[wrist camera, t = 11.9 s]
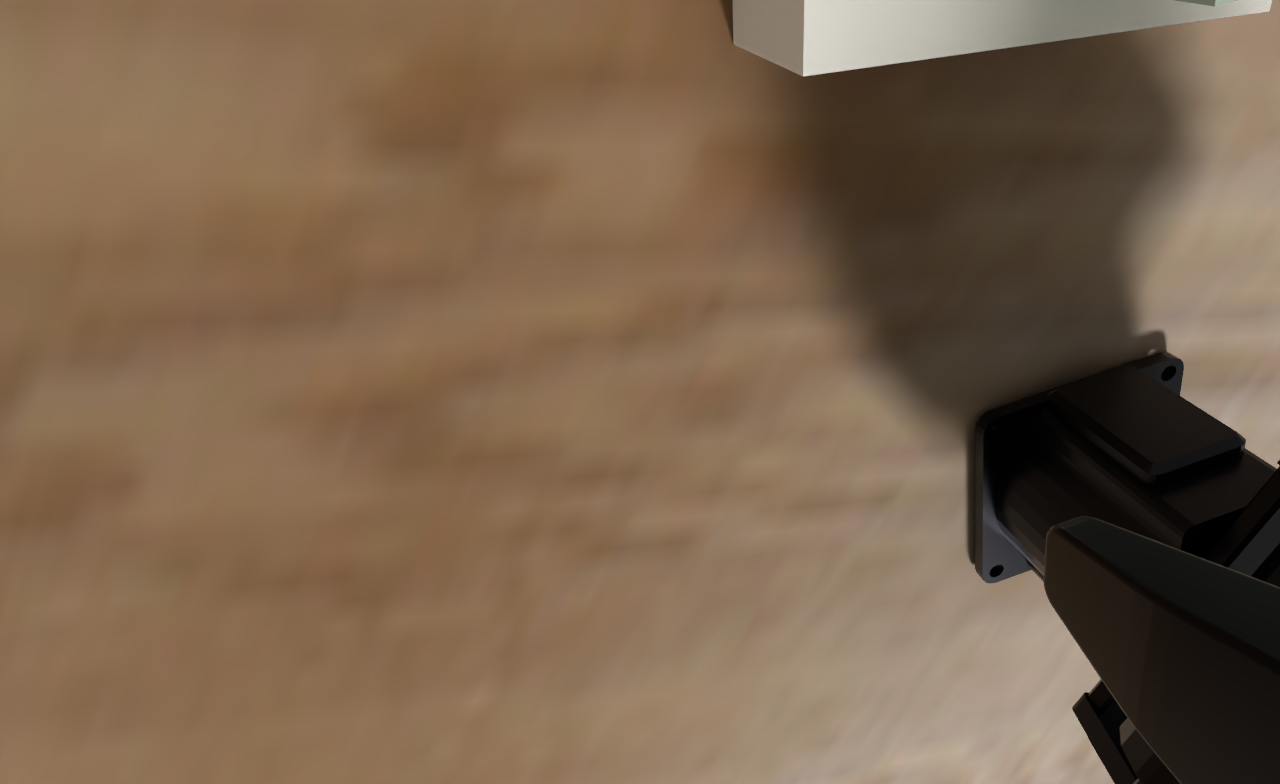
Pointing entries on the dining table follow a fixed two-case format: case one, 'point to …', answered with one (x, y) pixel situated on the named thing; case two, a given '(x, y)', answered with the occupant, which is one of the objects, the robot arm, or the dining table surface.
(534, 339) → the dining table surface
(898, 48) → the cream block
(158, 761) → the dining table surface
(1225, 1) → the green cube
